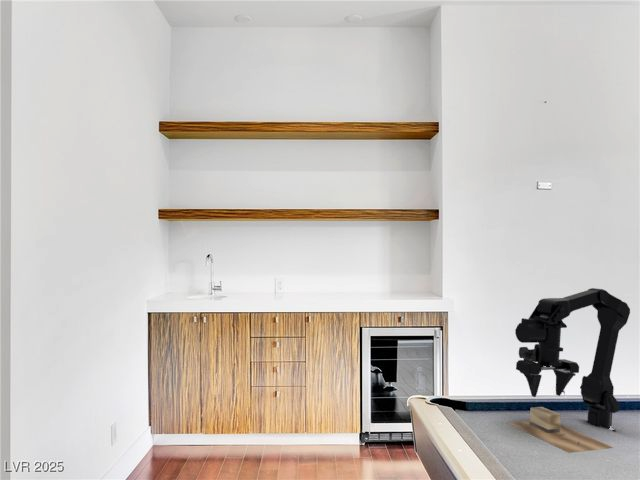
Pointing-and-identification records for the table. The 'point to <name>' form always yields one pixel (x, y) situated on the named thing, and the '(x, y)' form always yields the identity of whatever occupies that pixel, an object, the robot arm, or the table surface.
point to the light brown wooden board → (563, 438)
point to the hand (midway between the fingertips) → (546, 396)
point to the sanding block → (545, 419)
